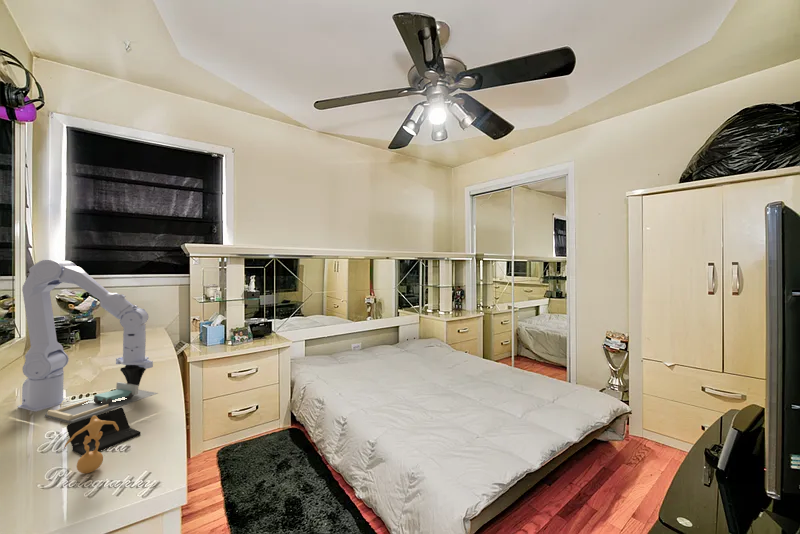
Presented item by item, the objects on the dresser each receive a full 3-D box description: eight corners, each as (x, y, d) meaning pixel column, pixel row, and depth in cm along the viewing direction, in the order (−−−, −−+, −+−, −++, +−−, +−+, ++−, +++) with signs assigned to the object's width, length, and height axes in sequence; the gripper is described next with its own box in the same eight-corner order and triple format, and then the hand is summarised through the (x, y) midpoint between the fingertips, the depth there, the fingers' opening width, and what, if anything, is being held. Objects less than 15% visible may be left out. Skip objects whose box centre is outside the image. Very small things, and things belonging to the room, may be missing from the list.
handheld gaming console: (92, 451, 71) (80, 410, 74) (71, 468, 72) (60, 427, 75) (146, 433, 82) (133, 398, 85) (127, 448, 83) (115, 413, 86)
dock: (44, 417, 90) (44, 409, 90) (133, 389, 111) (133, 383, 111) (71, 424, 86) (71, 416, 86) (158, 394, 107) (158, 387, 107)
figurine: (112, 458, 71) (113, 404, 71) (122, 467, 68) (123, 410, 68) (58, 479, 64) (59, 418, 64) (67, 490, 61) (68, 426, 61)
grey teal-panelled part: (88, 402, 98) (89, 388, 98) (119, 394, 106) (120, 381, 106) (107, 407, 95) (109, 392, 96) (138, 398, 103) (139, 384, 103)
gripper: (162, 345, 108) (162, 386, 107) (132, 341, 112) (132, 381, 112) (139, 350, 101) (139, 394, 101) (108, 346, 105) (108, 388, 105)
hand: (133, 387), depth 106 cm, fingers closed
